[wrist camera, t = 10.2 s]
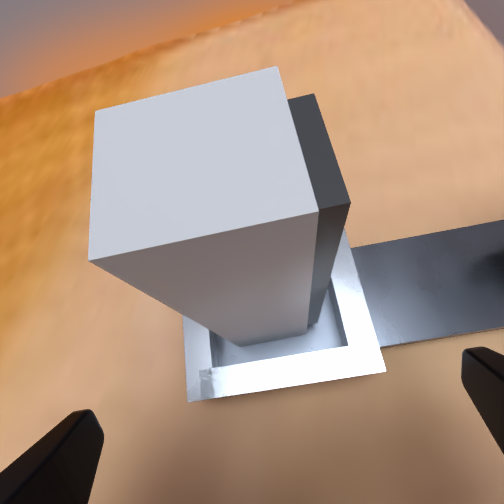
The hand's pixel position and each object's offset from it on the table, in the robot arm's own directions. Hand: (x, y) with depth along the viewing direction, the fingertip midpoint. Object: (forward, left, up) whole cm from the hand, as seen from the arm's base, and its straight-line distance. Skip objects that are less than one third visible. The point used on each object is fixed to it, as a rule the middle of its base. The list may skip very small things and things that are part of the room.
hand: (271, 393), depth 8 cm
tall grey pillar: (+3, +1, -8) cm, 9 cm away
